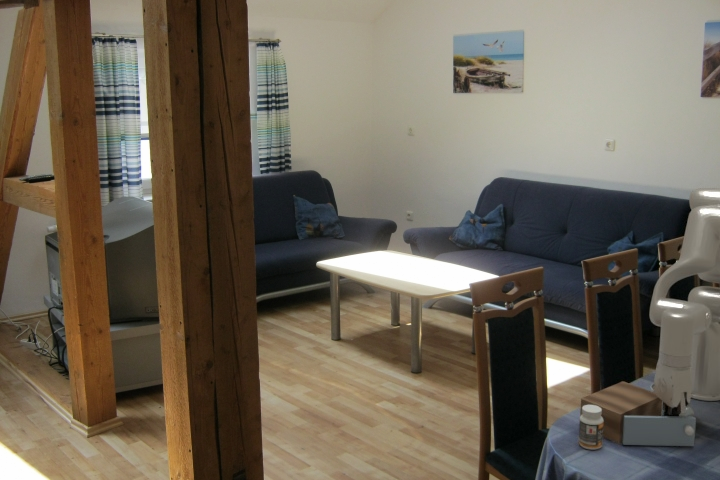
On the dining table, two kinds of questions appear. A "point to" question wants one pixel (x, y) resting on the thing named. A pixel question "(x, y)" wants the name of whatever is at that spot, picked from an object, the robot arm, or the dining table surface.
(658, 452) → the dining table surface
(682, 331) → the robot arm
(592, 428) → the pill bottle
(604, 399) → the cabinet
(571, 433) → the dining table surface
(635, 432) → the door
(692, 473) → the dining table surface
